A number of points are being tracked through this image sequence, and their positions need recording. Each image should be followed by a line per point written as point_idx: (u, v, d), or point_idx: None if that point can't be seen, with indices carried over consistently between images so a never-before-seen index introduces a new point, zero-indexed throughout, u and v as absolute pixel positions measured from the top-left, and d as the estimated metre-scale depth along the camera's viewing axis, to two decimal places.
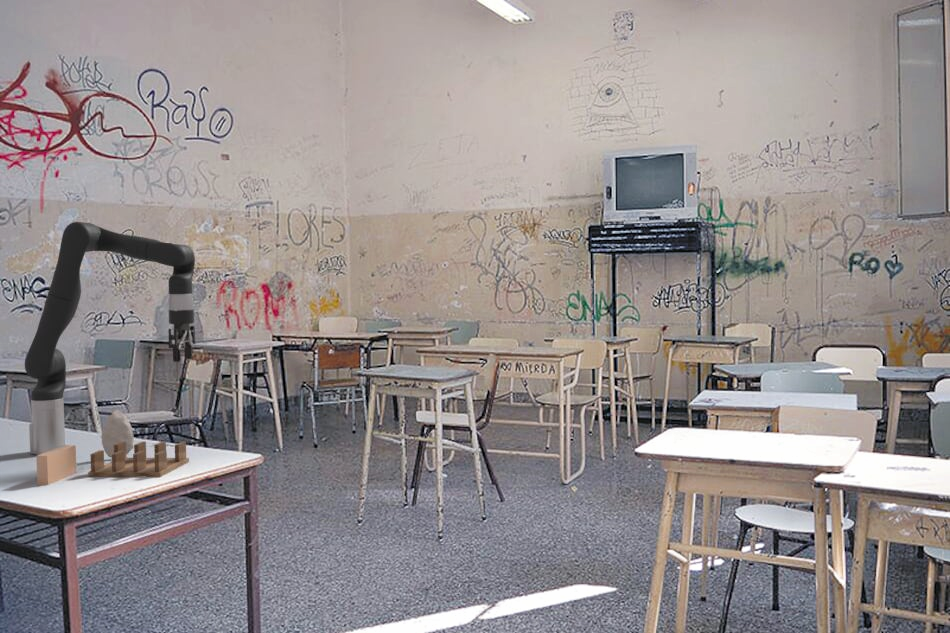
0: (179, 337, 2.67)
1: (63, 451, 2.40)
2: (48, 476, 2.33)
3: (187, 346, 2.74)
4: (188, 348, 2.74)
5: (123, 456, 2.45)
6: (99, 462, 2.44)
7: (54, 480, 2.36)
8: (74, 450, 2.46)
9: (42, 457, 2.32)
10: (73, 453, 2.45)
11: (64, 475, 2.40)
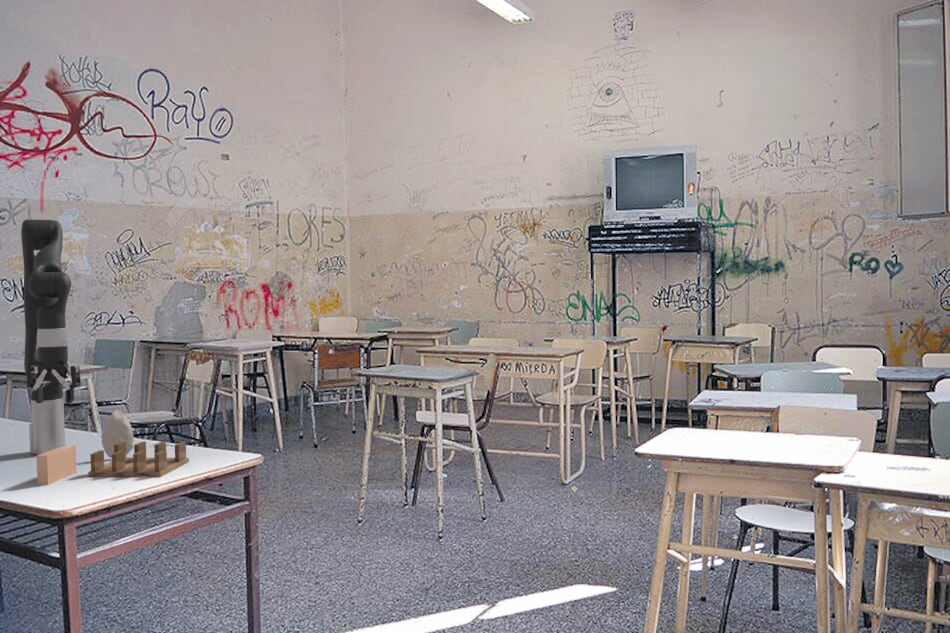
0: (64, 376, 2.38)
1: (63, 451, 2.40)
2: (48, 476, 2.33)
3: (39, 388, 2.39)
4: (41, 390, 2.39)
5: (123, 456, 2.45)
6: (99, 462, 2.44)
7: (54, 480, 2.36)
8: (74, 450, 2.46)
9: (42, 457, 2.32)
10: (73, 453, 2.45)
11: (64, 475, 2.40)
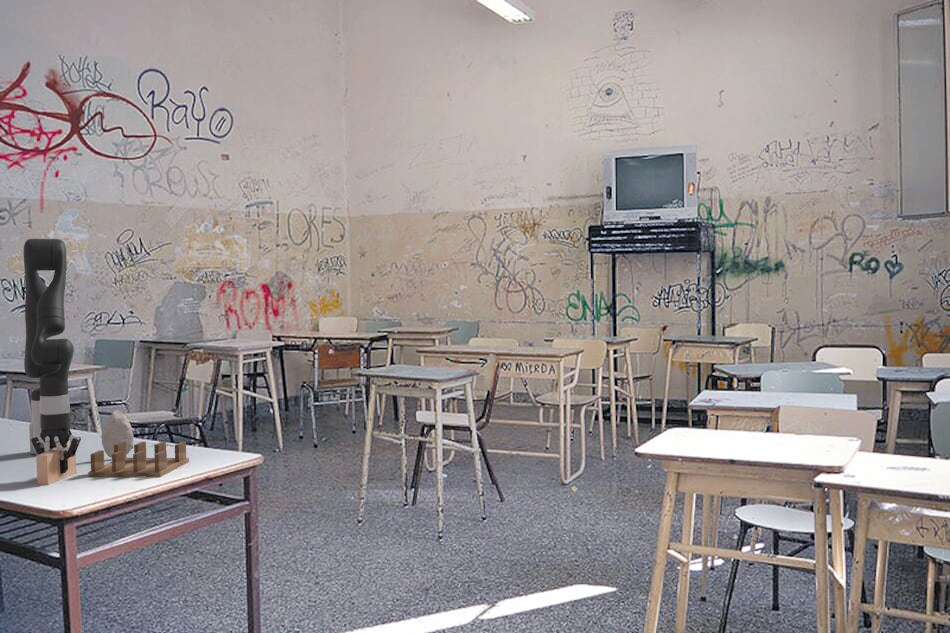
0: None
1: None
2: (48, 475, 2.33)
3: None
4: None
5: (123, 456, 2.45)
6: (99, 462, 2.44)
7: (54, 480, 2.36)
8: None
9: (42, 457, 2.32)
10: None
11: (64, 474, 2.40)
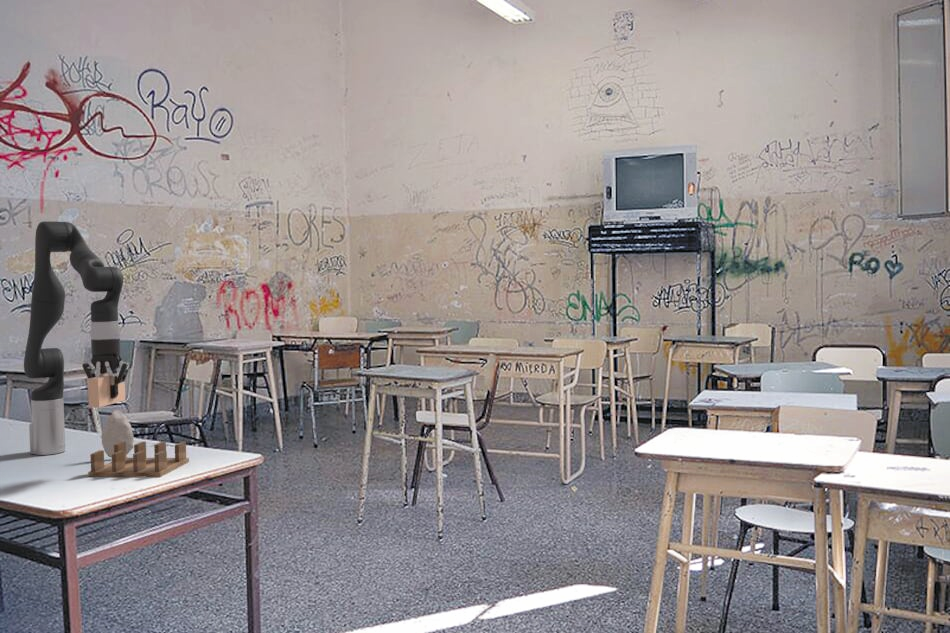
0: None
1: None
2: (99, 398, 2.38)
3: None
4: None
5: (123, 456, 2.45)
6: (99, 462, 2.44)
7: (105, 403, 2.41)
8: None
9: (93, 380, 2.37)
10: None
11: (114, 400, 2.45)
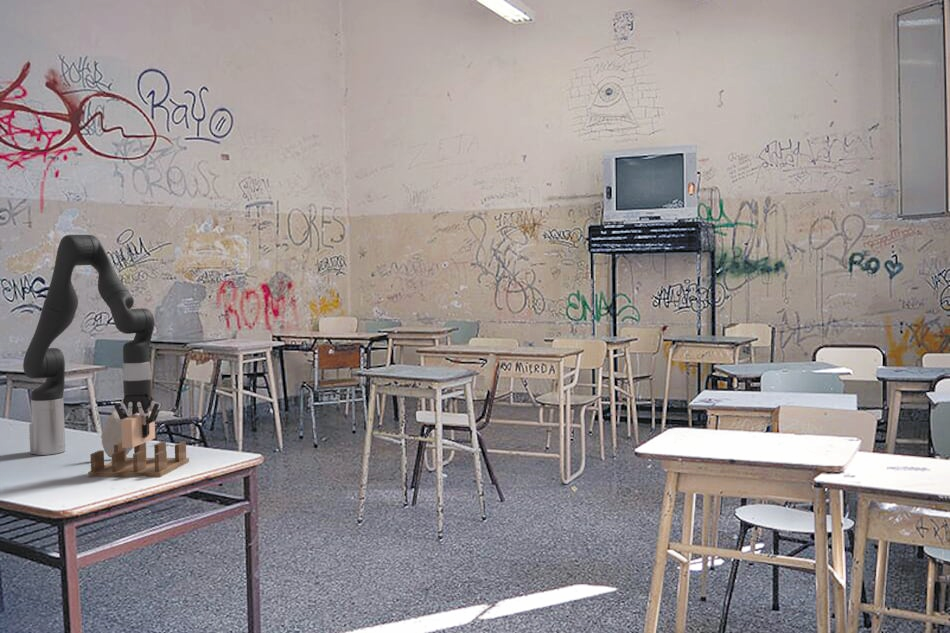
0: None
1: None
2: (132, 438, 2.43)
3: None
4: None
5: (123, 456, 2.45)
6: (99, 462, 2.44)
7: (137, 443, 2.45)
8: None
9: (127, 421, 2.42)
10: None
11: (145, 439, 2.50)
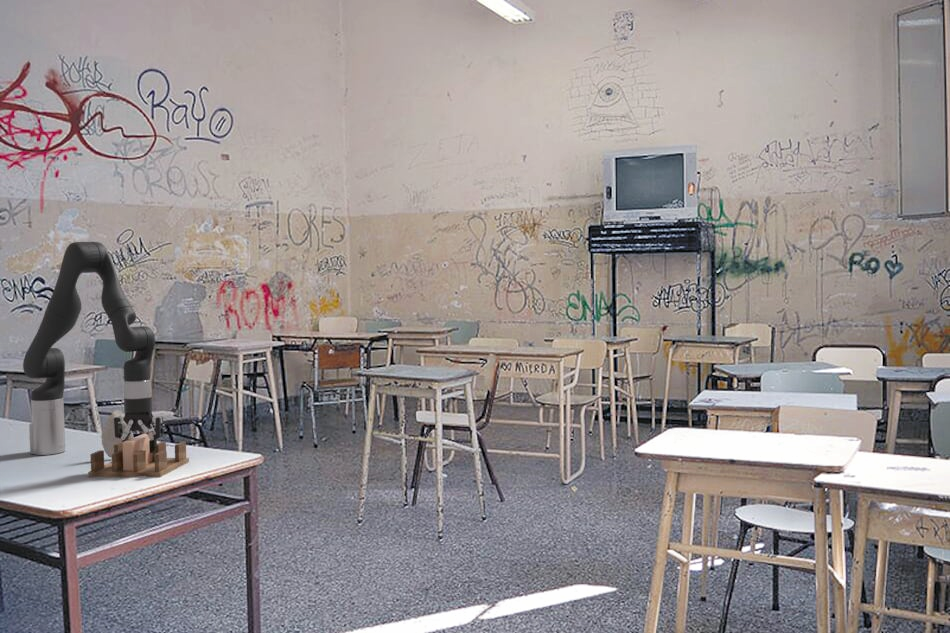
0: (148, 426, 2.50)
1: (145, 438, 2.50)
2: None
3: (126, 438, 2.50)
4: None
5: None
6: (99, 462, 2.44)
7: None
8: None
9: (128, 443, 2.43)
10: None
11: (146, 461, 2.51)
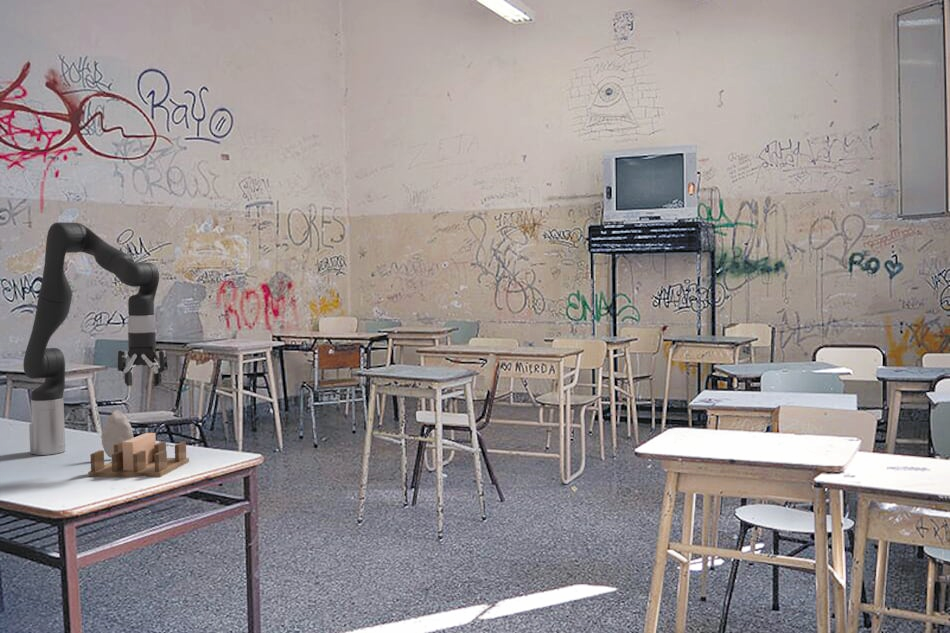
0: (152, 360, 2.53)
1: (145, 438, 2.50)
2: None
3: (129, 372, 2.53)
4: (130, 374, 2.54)
5: None
6: (99, 462, 2.44)
7: None
8: (154, 437, 2.56)
9: (128, 443, 2.43)
10: (153, 440, 2.55)
11: (146, 461, 2.51)
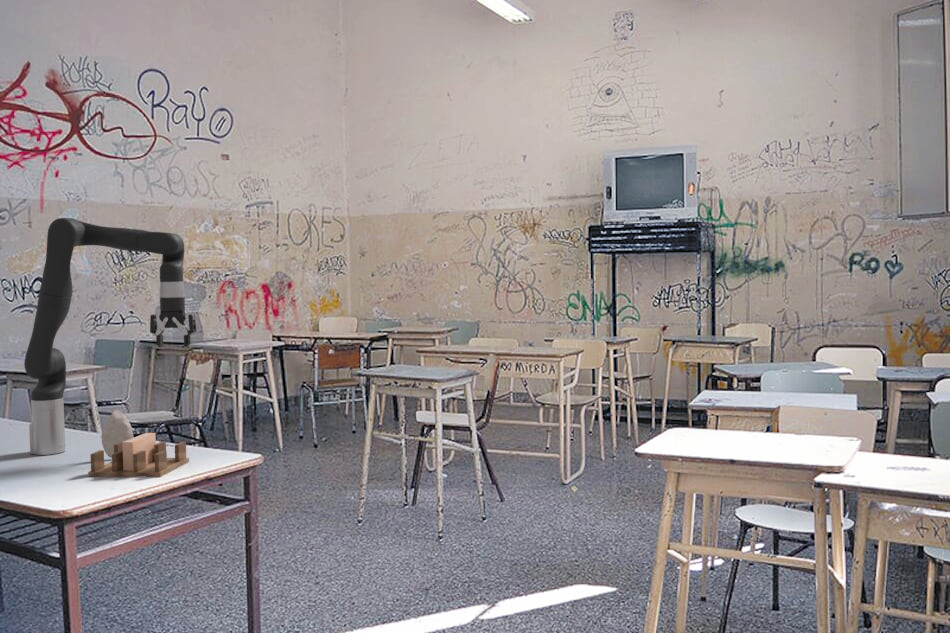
0: (182, 323, 2.75)
1: (145, 438, 2.50)
2: None
3: (160, 334, 2.75)
4: (161, 336, 2.76)
5: None
6: (99, 462, 2.44)
7: None
8: (154, 437, 2.56)
9: (128, 443, 2.43)
10: (153, 440, 2.55)
11: (146, 461, 2.51)
